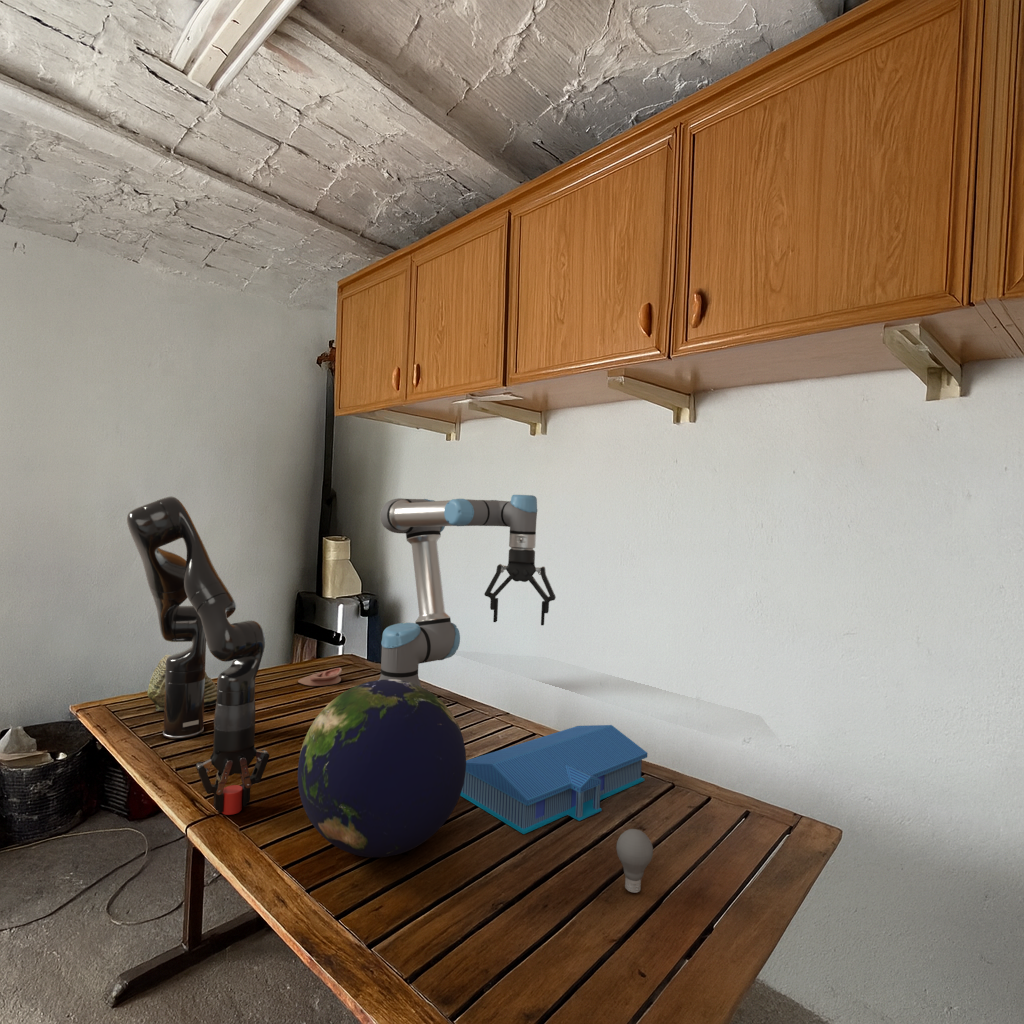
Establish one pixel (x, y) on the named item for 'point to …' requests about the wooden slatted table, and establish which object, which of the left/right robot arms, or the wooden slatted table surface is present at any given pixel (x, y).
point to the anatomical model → (322, 678)
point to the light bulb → (634, 857)
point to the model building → (553, 776)
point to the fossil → (158, 687)
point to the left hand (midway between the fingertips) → (231, 807)
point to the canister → (232, 799)
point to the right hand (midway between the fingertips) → (518, 623)
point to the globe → (381, 768)
